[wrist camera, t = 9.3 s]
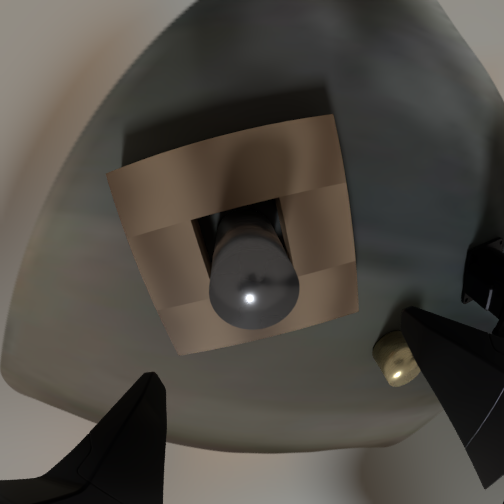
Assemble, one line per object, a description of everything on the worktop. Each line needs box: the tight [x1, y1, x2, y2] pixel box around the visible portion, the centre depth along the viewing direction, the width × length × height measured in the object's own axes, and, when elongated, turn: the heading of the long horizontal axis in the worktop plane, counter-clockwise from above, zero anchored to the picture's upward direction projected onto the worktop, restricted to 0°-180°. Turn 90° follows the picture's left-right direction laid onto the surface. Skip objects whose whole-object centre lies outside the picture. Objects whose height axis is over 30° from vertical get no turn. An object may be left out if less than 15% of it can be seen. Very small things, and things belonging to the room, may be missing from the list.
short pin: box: [373, 331, 421, 387], centre depth 23 cm, size 4×4×4 cm
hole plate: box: [106, 114, 359, 356], centre depth 19 cm, size 14×14×2 cm
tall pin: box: [209, 208, 300, 330], centre depth 16 cm, size 4×4×8 cm
